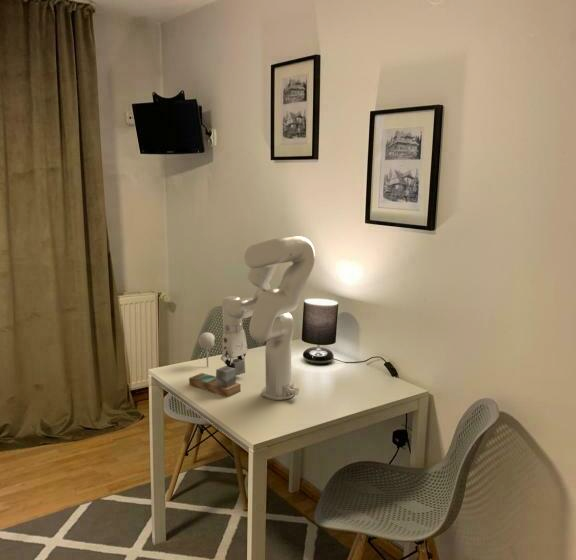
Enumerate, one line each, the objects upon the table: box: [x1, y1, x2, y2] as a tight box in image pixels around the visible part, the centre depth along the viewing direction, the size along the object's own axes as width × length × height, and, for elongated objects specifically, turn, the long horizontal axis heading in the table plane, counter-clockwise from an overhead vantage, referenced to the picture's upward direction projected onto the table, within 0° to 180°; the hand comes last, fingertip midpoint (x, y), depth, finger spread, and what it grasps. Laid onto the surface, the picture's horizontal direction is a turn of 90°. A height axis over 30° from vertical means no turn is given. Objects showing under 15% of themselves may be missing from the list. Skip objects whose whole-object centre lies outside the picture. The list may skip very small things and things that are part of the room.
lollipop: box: [197, 331, 216, 368], centre depth 237 cm, size 7×7×15 cm
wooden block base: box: [188, 365, 241, 398], centre depth 214 cm, size 20×7×9 cm, turn 54°
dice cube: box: [232, 358, 246, 377], centre depth 224 cm, size 5×5×5 cm
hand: (235, 371), depth 225 cm, fingers closed on dice cube, 5 cm apart
